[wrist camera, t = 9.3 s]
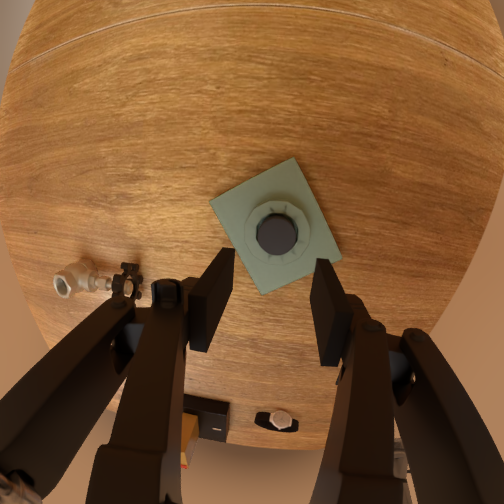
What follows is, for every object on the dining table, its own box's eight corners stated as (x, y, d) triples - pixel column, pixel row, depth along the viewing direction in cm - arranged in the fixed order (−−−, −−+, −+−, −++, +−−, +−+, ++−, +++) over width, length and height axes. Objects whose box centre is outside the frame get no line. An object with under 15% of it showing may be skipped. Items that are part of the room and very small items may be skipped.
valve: (82, 287, 36) (145, 300, 35) (56, 305, 30) (122, 323, 29) (76, 247, 34) (141, 254, 33) (47, 261, 28) (114, 272, 27)
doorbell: (339, 252, 31) (346, 264, 27) (262, 288, 33) (260, 303, 29) (293, 157, 28) (294, 155, 24) (213, 199, 30) (203, 203, 27)
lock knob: (183, 412, 38) (167, 449, 30) (197, 415, 38) (184, 454, 30) (185, 430, 40) (173, 465, 32) (199, 434, 39) (187, 469, 31)
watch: (303, 414, 39) (304, 430, 36) (291, 428, 40) (291, 443, 37) (261, 403, 39) (259, 419, 36) (251, 418, 40) (248, 433, 37)
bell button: (301, 240, 27) (302, 245, 25) (269, 256, 28) (268, 261, 26) (285, 208, 26) (285, 211, 25) (252, 225, 27) (250, 228, 25)
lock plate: (229, 402, 40) (226, 416, 37) (228, 430, 42) (225, 443, 39) (161, 388, 41) (155, 400, 38) (167, 417, 43) (162, 429, 40)
